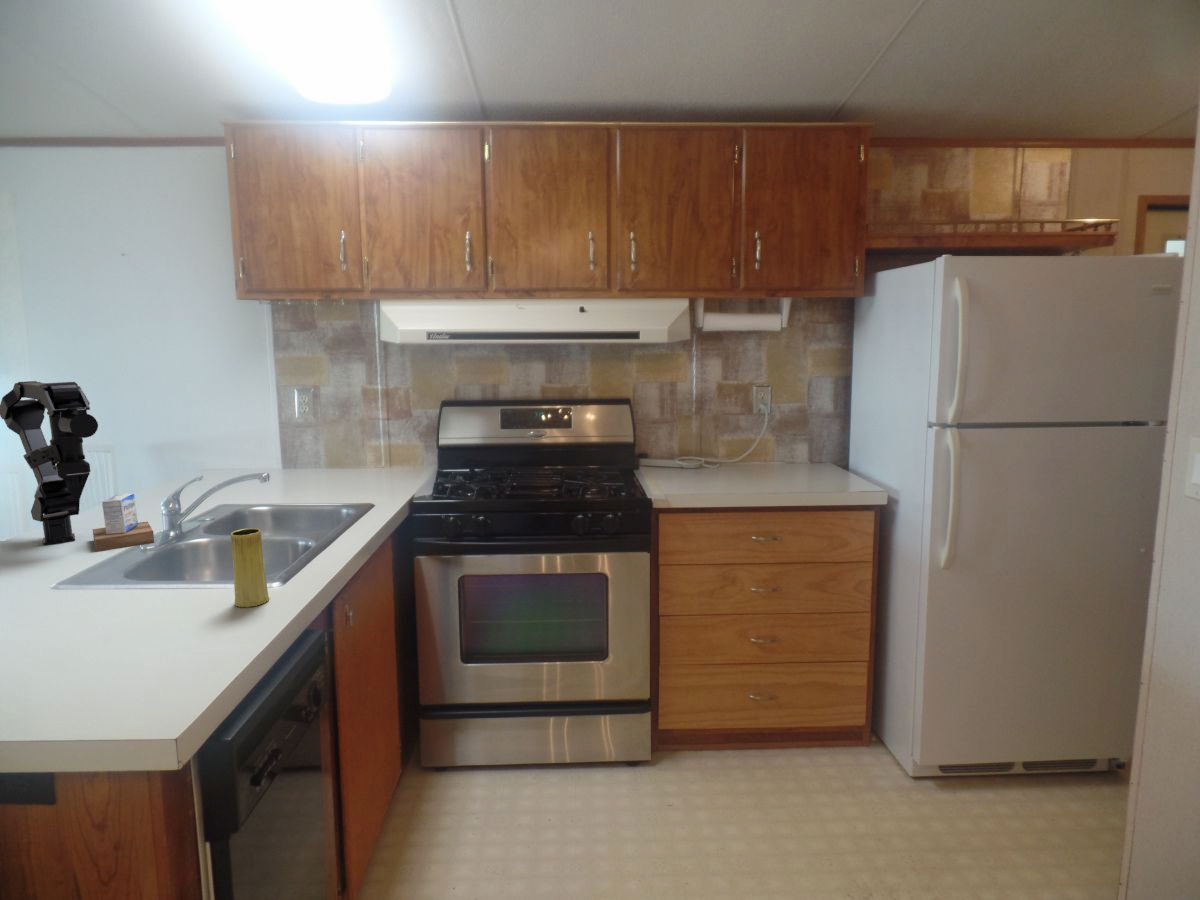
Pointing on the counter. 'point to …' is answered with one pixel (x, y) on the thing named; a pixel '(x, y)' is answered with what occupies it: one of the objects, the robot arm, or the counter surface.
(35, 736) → the counter surface
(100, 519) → the counter surface
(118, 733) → the counter surface
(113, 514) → the medicine box
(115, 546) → the block
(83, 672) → the counter surface
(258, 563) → the vase
